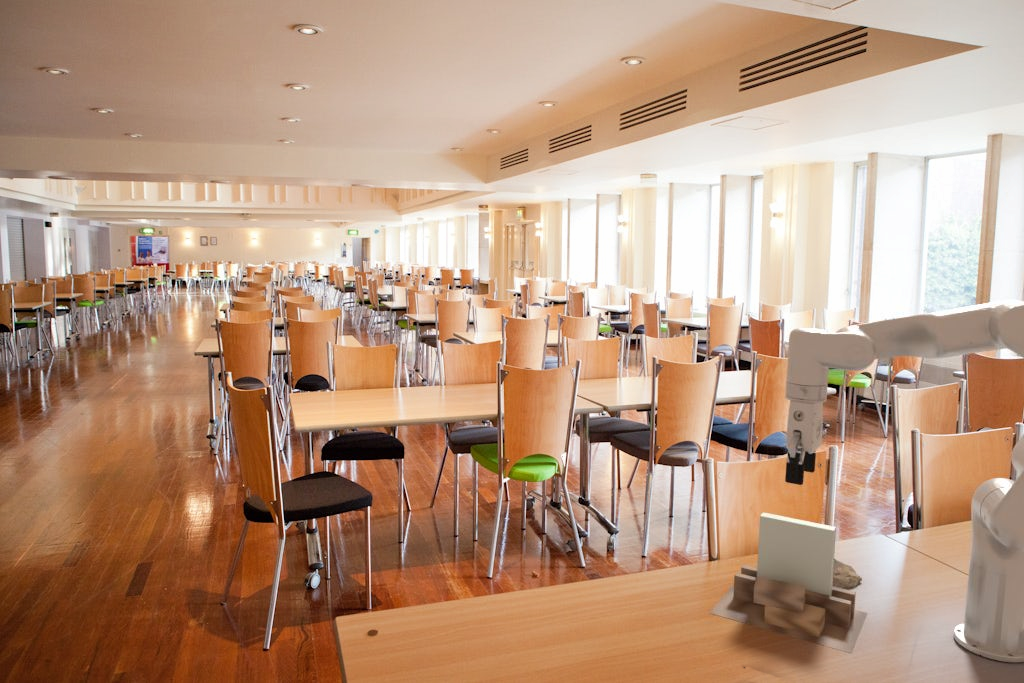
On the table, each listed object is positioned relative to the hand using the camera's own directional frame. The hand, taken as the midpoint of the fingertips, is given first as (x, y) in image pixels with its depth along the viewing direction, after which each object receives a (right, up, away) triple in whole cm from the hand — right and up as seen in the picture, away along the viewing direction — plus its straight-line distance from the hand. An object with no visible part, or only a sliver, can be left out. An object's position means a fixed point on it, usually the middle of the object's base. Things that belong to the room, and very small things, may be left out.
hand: (800, 477), depth 148 cm
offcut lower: (-3, -28, -4) cm, 28 cm away
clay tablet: (+9, -27, +18) cm, 34 cm away
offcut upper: (-5, -24, -2) cm, 25 cm away
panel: (0, -27, +3) cm, 27 cm away
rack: (-2, -29, +1) cm, 29 cm away
